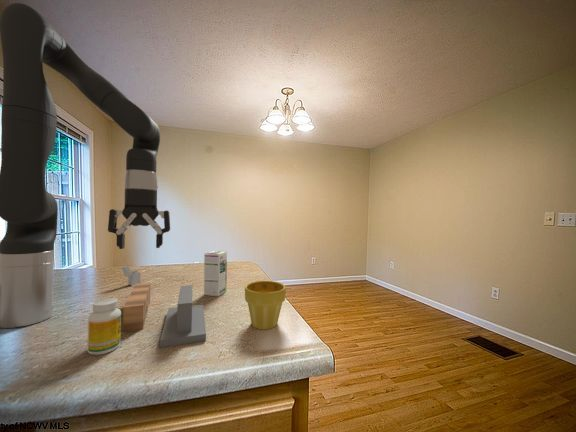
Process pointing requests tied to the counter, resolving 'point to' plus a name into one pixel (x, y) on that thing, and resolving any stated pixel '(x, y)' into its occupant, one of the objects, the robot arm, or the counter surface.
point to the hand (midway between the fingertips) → (140, 248)
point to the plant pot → (264, 302)
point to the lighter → (131, 275)
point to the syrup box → (215, 273)
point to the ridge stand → (184, 321)
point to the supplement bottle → (104, 327)
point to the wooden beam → (136, 307)
